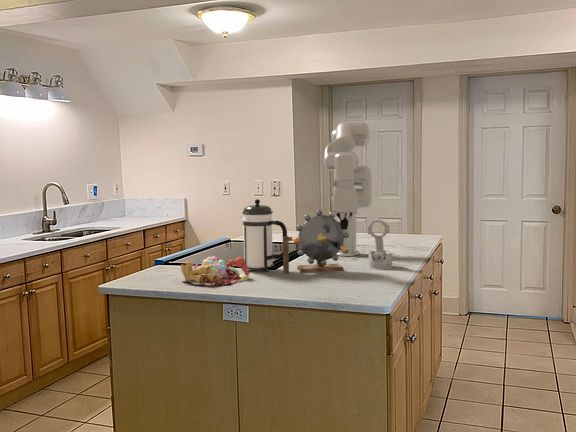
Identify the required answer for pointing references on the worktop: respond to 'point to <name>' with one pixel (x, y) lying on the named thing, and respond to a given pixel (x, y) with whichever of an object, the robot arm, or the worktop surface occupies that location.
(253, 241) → the coffee press
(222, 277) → the candy landscape model
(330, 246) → the sprocket
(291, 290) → the worktop surface
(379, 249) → the engine component
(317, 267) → the wheel stand
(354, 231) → the robot arm
